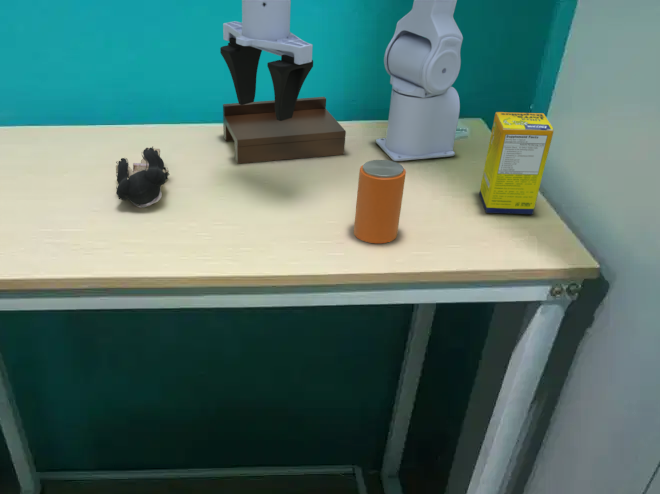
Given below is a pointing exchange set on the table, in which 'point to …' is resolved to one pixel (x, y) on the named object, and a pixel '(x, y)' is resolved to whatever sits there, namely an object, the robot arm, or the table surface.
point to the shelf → (282, 131)
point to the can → (379, 201)
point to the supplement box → (515, 162)
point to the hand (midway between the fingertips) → (264, 110)
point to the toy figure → (142, 178)
